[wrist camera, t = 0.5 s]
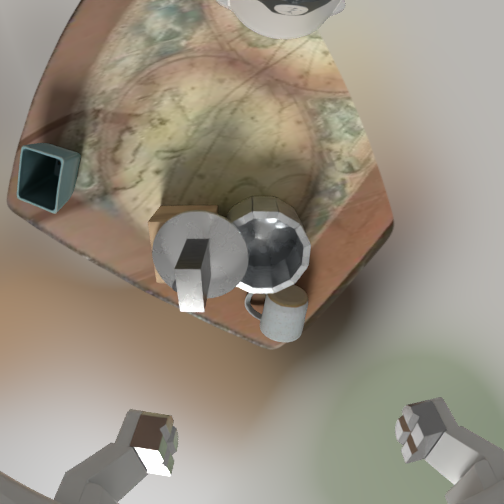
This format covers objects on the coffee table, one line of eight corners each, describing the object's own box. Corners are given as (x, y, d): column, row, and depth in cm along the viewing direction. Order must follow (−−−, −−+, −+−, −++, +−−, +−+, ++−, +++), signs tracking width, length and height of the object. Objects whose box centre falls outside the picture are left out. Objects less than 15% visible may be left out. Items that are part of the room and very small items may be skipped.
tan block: (160, 205, 46) (147, 221, 40) (217, 205, 47) (212, 221, 40) (166, 261, 51) (156, 282, 45) (219, 261, 51) (215, 284, 45)
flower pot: (83, 196, 45) (56, 215, 37) (45, 182, 44) (15, 198, 36) (93, 147, 41) (64, 158, 33) (53, 135, 40) (21, 144, 32)
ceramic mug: (306, 281, 53) (313, 308, 46) (298, 317, 57) (303, 345, 50) (247, 277, 53) (246, 303, 46) (243, 313, 57) (242, 341, 50)
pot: (220, 195, 46) (216, 211, 40) (305, 197, 46) (314, 212, 40) (222, 269, 52) (219, 292, 46) (298, 269, 52) (305, 293, 46)
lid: (148, 210, 39) (125, 238, 31) (248, 209, 39) (249, 238, 32) (160, 294, 45) (145, 331, 38) (248, 296, 46) (248, 335, 38)
